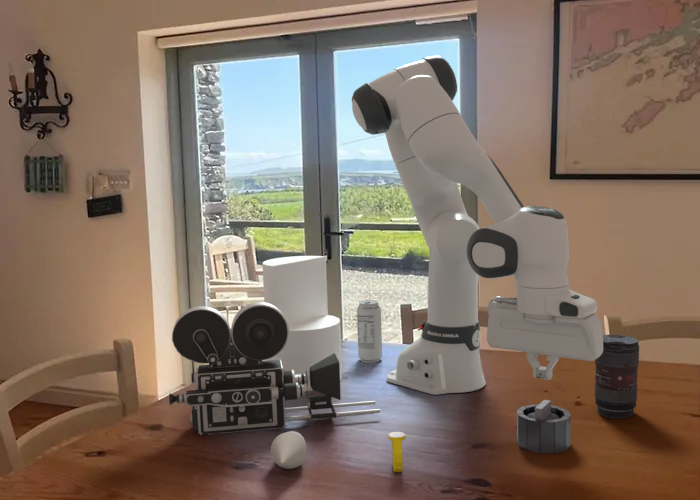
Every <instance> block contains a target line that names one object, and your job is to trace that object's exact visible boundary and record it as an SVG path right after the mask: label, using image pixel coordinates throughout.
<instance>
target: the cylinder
mask: <svg viewBox="0 0 700 500" xmlns="http://www.w3.org/2000/svg"><path fill="white" fill-rule="evenodd" d="M327 275H328V274H327V256H326V255H323V256H322V255H295V256H283V257H282V256H281V257H275V258H270V259H267V260H264V261H263V262H262V279H263V281H262V283H263V302H265V303H269V304H272V305H274V306H275V307H277V308H278V309H279V310H280V311H281V312H282V313H283V315H284V316H285V318H286V321H287V324H288V329H289V334H288V340H287V342H286V345H285V347H284V348H283V349H282V351H281V352H279V353H278V354H277V355H276V356H274V357H272V358H270V359H267V360H279V359H280V360H281V363H282V367H283V375H284V371H290V370H294V374H295V375H299V374H306V370H307V374H309V372H310V367H311V366H312V365H314V364H316V363H318V362H320V361H321V360H323V359H325V358H327V357H328V356H330V355H332V354H334V353H335V355H336V357H337V359H338V361H339V367H340V382H342V380H343V376H342V375H343V374H342V373H343V371H342V340H341V339H342V337H341V335H342V334H341V319H340V318H339V317H338V316H337V317H336V316H334V315H330V314H329V313H328V312H329V309H328V307H329V306H328V281H327V280H328V279H327ZM307 376H308V386H307V384H299V385H304V388H305V392H307V389H308V392H310V381H309V375H307ZM312 391H313V392H314V390H312V388H311V392H312Z"/></svg>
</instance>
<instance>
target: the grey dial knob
mask: <svg viewBox="0 0 700 500" xmlns="http://www.w3.org/2000/svg"><path fill="white" fill-rule="evenodd" d="M551 405H552V401H551V400H548V399H544V400H542V401H541V402H540V403H539V405H538V406H536V407H535V412H533V413H530V414H528V415H527V416H528V417H530V418H533V419H538V420H555V419H559V416H557V415H556V414H553V413H551Z"/></svg>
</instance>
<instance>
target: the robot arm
mask: <svg viewBox="0 0 700 500" xmlns="http://www.w3.org/2000/svg"><path fill="white" fill-rule="evenodd" d="M457 92H458V82H457V77H456V74H455V71H454V68H452V66H451V64H450V63H449V62H448V61H447V60H446V59H445V58H444V57H442V56H440V55H432V56H426V57H423V58H422V59H421V60H418V61H414V62H412V63H408V64H404V65H402V66H399V67H395V68H393V70H391V71H390V72H387V73H385V74H384V75H381V76H380V77H377V78H376V79H374V80H373V81H371V82H369V83H367V82H366V83H363V84H362V85H361V86H359V87H358V88H356V89H355V90H354V91H353V93H352V96H351V103H352V104H351V107H352V114H353V117H354V119H355V121H356V123H357V124H358V125H359V127H361V129H362V130H363V131H364V132H365V133H367V134H369V135H371V136H373V135H381V134H385V137H386V142H387V146H388V148H389V152H390V154H391V157H392V160H393V163H394V165H395V168H396V170H397V172H398V175H399V177H400V180H401V182H402V185H403V187H404V190H405V192H406V194H407V196H408V199H409V202H410V205H411V209H412V211H413V212H414V215H415V219H416V221H417V223H418V226H419V229H420V230H421V234H422V236H423V240H424V241H425V244H426V245H427V247H428V248H429V249H428V253H429V255H428V276H427V277H428V278H427V279H428V280H427V286H426V287H427V320H426V321H424V322H422V324H419V325H417V327H418V328H417V331H421V335H420V337H419V338H418V339H415V341H413V342H412V343H410V345H408V346H406V348H404V349H403V350H401V352H400V353H399V354H398V357H397V362H396V368H395V369H393V370H392V371H391V372H389V373H388V374H387V376H386V382H389V383H391V384H394V385H399V386H400V387H401V386H402V387H405V388H408V389H412V390H415V391H419V392H422V393H427V394H430V395H435V396H436V395H444V394H454V393H455V394H456V393H467V392H468V393H469V392H473V391H474V392H475V391H478V390H480V389H482V388H483V387H485V385H486V383H487V382H486V379H485V376H484V372H483V368H482V361H481V357H480V356H481V355H480V345H481V327H480V326H481V323H480V321H479V320H478V319H479V317H478V316H479V313H478V309H479V306H478V304H479V302H478V301H479V300H478V298H479V295H478V294H479V293H478V290H479V289H478V288H479V277H481V278H484V279H492V280H494V279H495V280H496V279H501V278H505V277H513V278H514V279H515V282H516V284H515V285H516V286H515V287H516V294H515V295H516V296H515V297H503V296H498V295H497V296H495V297H494V298H492V299H490V300H489V302H488V304H487V316H488V321H487V322H488V323H487V328H486V329H487V330H486V342H487V344H488V346H489V347H491V348H494V349H500V350H501V349H502V350H508V351H514V352H523V353H526V360H527V361H528V363H529V365H530V366H531V368H532V377H533V378H535V379H543V380H548V381H549V380H552V378H553V373H554V371H553V369H554V368H555V366H556V364H557V363H558V361H559V360H560V358H567V359H574V360H581V361H588V362H595V360H596V359H597V358H599V357H600V356H601V354H602V353H603V335H604V334H603V328H602V327H603V326H602V323H601V320H600V318H599V317H598V316H597V314H595V313H596V311H597V310H598V302H597V301H596V299H594V298H592V297H589V296H586V295H585V294H581V293H579V292H576V291H574V290H572V289H570V281H569V278H568V272H567V271H568V264H569V261H570V245H569V243H570V242H569V241H570V240H569V230H568V224H567V220H566V218H565V216H564V215H563V213H561V211H558V210H556V209H554V208H550V207H546V206H537V205H530V206H528V205H527V206H524V204H523V203H522V201H521V200H520V198H519V197H518V195H517V193H516V192H515V190H514V189H513V188H512V186H511V185H510V184H509V182H508V180H507V178H506V177H505V176H504V175H503V173H502V171H501V170H500V168H499V167H498V165H497V164H496V163H495V162H494V160H493V159H492V158H491V157H490V155H489V154H488V153H487V152H486V151H485V149H484V148H483V146H481V145H480V143H479V142H478V140H477V139H476V137H475V136H474V135H473V133H472V131H471V130H470V129H469V127H468V125H467V123H466V121H465V120H464V118H463V117H462V115H461V113H460V111H459V110H458V108H457V105H456V104H455V103H454V99H455V97H456V94H457ZM458 184H460V185H462V186H464V187H466V188H468V189H469V190H470V191H472V192H473V193H474V194H475V195H476V196H477V197H478V199H479V201H480V202H481V204H482V205H483V207H484V208H485V210H486V212H487V213H488V215H489V216H490V217H491V219H492V221H493V222H494V223H493V224H490V225H486V226H484V227H481V228H480V226H479V224H478V223H477V222H476V221H475V220H474V219H473V218H472V217H471V216H469V214H468V213H467V209H466V207H465V204H464V201H463V198H462V194H461V192H460V189H459V185H458ZM540 355H545V356H546V361H547V362H548V364H547V366H542V365H541V364H540V361H539V360H538V357H539V356H540Z"/></svg>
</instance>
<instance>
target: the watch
mask: <svg viewBox="0 0 700 500" xmlns="http://www.w3.org/2000/svg"><path fill="white" fill-rule="evenodd" d="M387 437H388V440H390V441H391V449H392V451H391V453H392V455H391V456H392V467H393V472H394V473H403V466H404V465H403V464H404V463H403V441H404V440H406V434H405V433H404V432H402V431H393V432H389V433H388V436H387Z"/></svg>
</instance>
